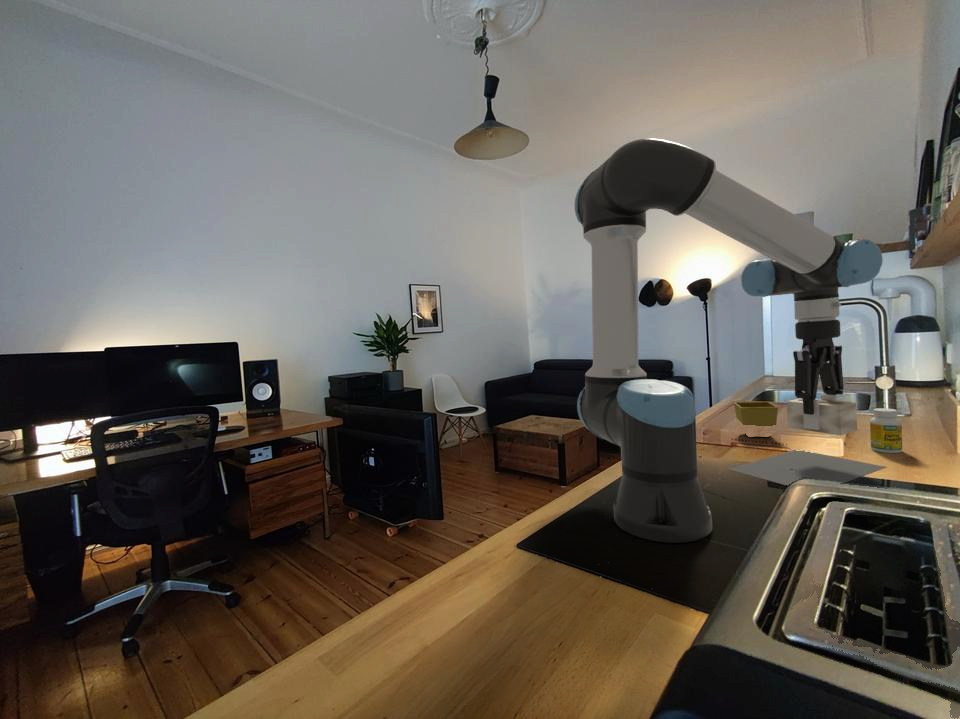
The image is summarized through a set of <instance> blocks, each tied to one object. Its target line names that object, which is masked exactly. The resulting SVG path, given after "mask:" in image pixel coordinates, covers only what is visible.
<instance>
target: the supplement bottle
mask: <svg viewBox="0 0 960 719" xmlns="http://www.w3.org/2000/svg"><path fill="white" fill-rule="evenodd" d="M872 411H873V412H872V413H873V414H872V415H873V416H874V417H871V418H870V420H869V432H870V448H871V450H873V451H875V452H879V453H885V454H886V453H887V454H899V453H901V452H902V451H903V423H902V421H901V419H900V418H897V417H898V409H893V408H884V407H883V408H880V407H879V408H877V407H876V408H873V410H872Z"/></svg>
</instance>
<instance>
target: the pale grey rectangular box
mask: <svg viewBox="0 0 960 719" xmlns="http://www.w3.org/2000/svg"><path fill="white" fill-rule="evenodd" d="M818 399H819V414H820V430H814V429H807V428H804V419H803V399H802V398H795V399H791V400H787V401H786V407H787V410H786V411H787V428H789V429H795V430H801V431H807V432H808V431H809V432H814V433H815V432H816V433H822V434H827V435H836V436H844V435H848V434H850V433H854V432H857V431H858V419H857V402H854V401H844V400H837V401H835V400H824V399H821V398H818Z"/></svg>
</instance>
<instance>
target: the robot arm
mask: <svg viewBox="0 0 960 719" xmlns="http://www.w3.org/2000/svg"><path fill="white" fill-rule="evenodd" d="M716 164H717V163H716V161H715V160H713V159H712V158H711V157H708V156H707V155H705V154H703V153H702V152H699V151H697V150H696V149H693V148H691V147H689V146H686V145H683V144H682V143H681V144H680V143H678V142H677V143H676V142H674V141H669V140H665V139H659V138H641V139H635V140H632V141H629V142H627V143H626V144H623V145H622V146H620V147H619V148H617V150H616V151H615V152H613V153H612V154H611V155H610V156H609V158H607V159H606V160H605V161H604V162H603V163H602V164H601V165H600V166H598V168H596V169H595V170H594V171H591V172H590V173H589V174H588V175H587V176H586V178H584V180H583V182H582V183H581V185H580V186H579V187H578V190H577V192H576V194H575V198H574V213H575V216H576V219H577V221H578V223H580V224H581V226H582V229H583V231H582V232H583V239H584V240H585V241H587V242H588V243H589V244H590V245H591V300H592V301H591V306H592V308H591V309H592V310H591V311H592V312H591V315H592V317H591V318H592V366H591V367H590V368H589V369H588V370H587V371H586V372H585V374H584V384H585V385H584V387H583V389H582V390H581V391H580V393H579V395H578V398H577V402H576V403H577V404H576V409H577V414H578V417H579V420H580V422H581V423H582V424H583V426H584V427H585V428H586V429H587V430H588V431H590V433H592V435H594V436H596V437H598V438H599V439H602V440H606V441H607V442H609V443H611V444H614V445H616V446H618V447H620V461H621V474H622V475H621V478H620V483H619V486H618V492H617V497H616V499H614V503H613V520H614V523H615V524H616V525H617V527H618V528H620V529H621V530H623V531H624V532H626V533H628V534H630V535H632V536H635V537H636V538H637V537H638V538H641V539H643V540H649V541H654V542H659V543H675V544H676V543H681V544H682V543H689V542H694V541H699V540H702V539H704V538H706V537H707V536H709V535H710V534H711V533H712V531H713V519H712V518H713V517H712V516H713V515H712V511H711V509H710V507H709V505H707V501H706V499H705V495H704V493H703V490H702V487H701V484H700V482H699V478H698V477H699V476H698V475H699V474H698V456H697V455H698V454H697V452H698V451H697V450H698V449H697V426H696V425H697V423H696V421H697V420H696V418H697V417H696V416H697V410H696V407H695V399H694V395H693V392H692V391H691V389H689V388H688V387H687V386H685V385H683V384H680V383H678V382H674V381H669V380H658V379H652V378H651V379H648V376H647V372H646V371H645V370H644V369H643V368H641V366H640V365H639V280H638V279H639V276H638V275H639V274H638V273H639V272H638V271H639V269H638V268H639V267H638V266H639V265H638V262H639V261H638V260H639V258H638V257H639V256H638V254H639V253H638V252H639V251H638V246H639V245H638V242H639V240H640V238H641V237H643V236H644V234H645V233H646V232H647V211H648V210H652V209H653V210H654V209H655V210H661V211H665V212H668V213H670V214H672V216H673V215H674V216H676V217H679V216H682V215H688V216H689V217H691V218H693V219H695V220H696V221H699V222H700V223H702V224H704V225H707V226H708V227H710V228H712V229H713V230H716V231H718V232H719V233H722V234H723V235H725V236H727V237H729V238H731V239H733V240H735V241H737V242H738V243H740V244H742V245H745V246H746V247H748V248H750V249H751V250H754V252H755V251H756V252H757V253H759V254H761V255H763V256H764V257H765V256H766V257H767V258H764V259H759V260H753V261H751V262H750V263H748V264H747V265H746V266H745V267H744V269H743V271H742V273H741V275H740V276H741V277H740V278H741V279H740V280H741V287H742V289H743V290H744V292H745V293H746V294H747V295H749V296H751V297H763V298H765V297H771V296H782V295H784V296H785V295H791V294H792V295H793V303H794V320H796V321H797V322H796V323H795V324H794V326H795V327H794V330H795V338H796V340H797V339H798V340H802V346H801V349H800V350H793V352H792V354H793V359H794V396H795V397H796V399H799V398H802V399H803V419H804V428H807V429H814V430H820V414H819V399H824V400H835V401H838V395H843V394H844V375H843V364H842V353H843V346H842V345H835V343H834V340H833V339H835V338H838V337H841V321H840V320H839V319H837V317H838V318H839V317H840V307H841V306H842V304H841V302H840V294H839V288H849V287H850V286H856V285H857V286H858V285H861V284H866V283H870V282H871V281H873V279H875V278H876V277H877V276H878V275H879V273H880V271H881V268H882V266H883V260H884V259H883V253H882V250H881V249H880V247H879V246H878V244H877V243H876V242H875V241H873V240H870V239H863V238H862V239H858V240H856V239H852V240H848V242H847V241H842V240H840V239H838V238H837V237H835V236H833V235H831V234H830V233H828V232H826V231H824V230H822V229H821V228H819V227H817V226H815V225H813V224H812V223H810V222H808V221H807V220H805V219H803V218H801V217H799V216H798V215H796V214H795V213H792V212H791V211H789V210H787V209H785V207H784V208H783V207H782V206H780V205H779V204H777V203H774V201H771V200H770V199H768V198H766V197H764V196H762V195H760V194H759V193H757V192H755V191H754V190H752V189H750V188H748V187H746V186H745V185H743V184H741V183H740V182H738V181H736V180H734V179H733V178H731V177H729V176H727V175H726V174H724V173H722V172H720V171H719V170H717V166H716ZM768 258H769V259H768ZM819 380H820V384H821V387H822V391H823V393H821V394H820V398H817V393H818V386H819Z"/></svg>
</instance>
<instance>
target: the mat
mask: <svg viewBox="0 0 960 719" xmlns="http://www.w3.org/2000/svg"><path fill="white" fill-rule="evenodd" d="M805 451H806V450H803V451H796V449H793V450H789V451H787V452H786V451H785V452H783V453H779V454H776V455H772V456H769V457H768V456H767V457H766V458H762V459H757V460H754V461H751V462H748V463H744V464H740V465H737V466H733V467H730V468H727V470H729V471H732V472H735V473H738V474H743V475H745V476H750V477H754V478H758V479H762V480H765V481H769V482H772V483H776V484H780V485H783V486H786V485H787V487H789V486H788V485H789V484H791V483H792V482H794V481H796V480H799V479H802V478H801V477H806V476H807V477H808V478H811V479H821V480H830V481H837V482H843V483H842V484H845V483H847V482H850V481H852V480H857V479H858V478H862V477H864V476H866V475H870V474H873V473H875V472H877V471H880V470H883V469H886V468H887V466H885V465H884V466H883V465H878V464H874V463H868V462H862V461H858V460H853V459H848V458H844V457H838V456H832V455H827V454H822V453H819V452H818V453H817V452H813V453H811V452H812V451H808V452H805ZM790 469H793V470H790ZM795 470H796V471H795Z"/></svg>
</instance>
